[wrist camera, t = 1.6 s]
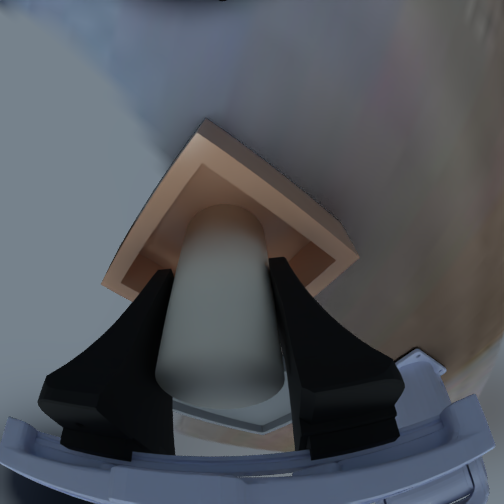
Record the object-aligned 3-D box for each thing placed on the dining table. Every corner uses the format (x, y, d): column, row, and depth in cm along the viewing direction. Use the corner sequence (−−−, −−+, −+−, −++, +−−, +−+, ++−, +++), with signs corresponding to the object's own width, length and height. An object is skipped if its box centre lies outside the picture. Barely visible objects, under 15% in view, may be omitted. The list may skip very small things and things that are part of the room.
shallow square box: (341, 223, 15) (359, 257, 13) (240, 315, 19) (241, 353, 16) (205, 117, 12) (197, 132, 9) (118, 248, 15) (100, 284, 13)
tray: (346, 380, 25) (349, 393, 24) (262, 423, 30) (263, 434, 29) (195, 314, 19) (193, 332, 17) (129, 380, 24) (126, 394, 23)
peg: (281, 233, 15) (311, 374, 8) (232, 282, 17) (233, 417, 10) (215, 188, 13) (198, 326, 7) (171, 246, 15) (136, 384, 9)
